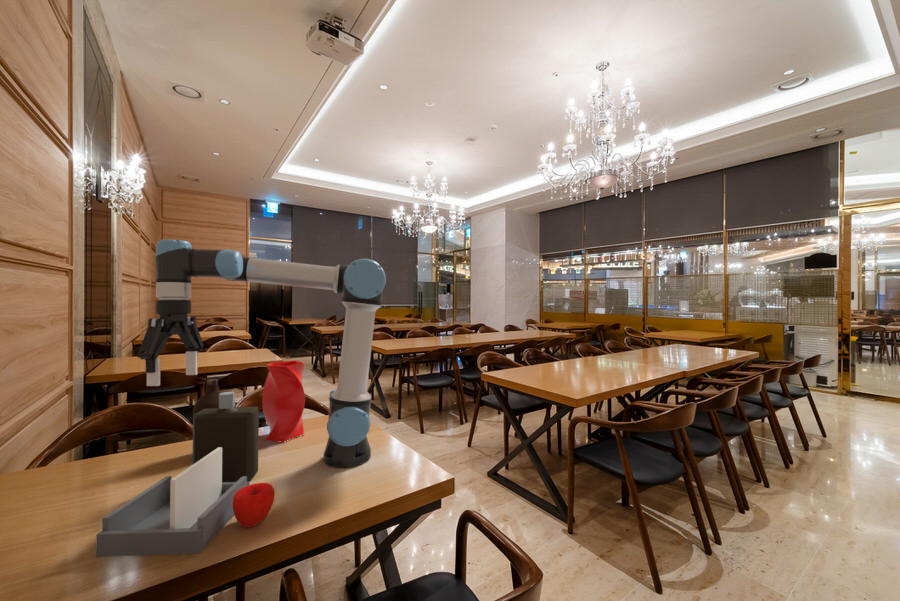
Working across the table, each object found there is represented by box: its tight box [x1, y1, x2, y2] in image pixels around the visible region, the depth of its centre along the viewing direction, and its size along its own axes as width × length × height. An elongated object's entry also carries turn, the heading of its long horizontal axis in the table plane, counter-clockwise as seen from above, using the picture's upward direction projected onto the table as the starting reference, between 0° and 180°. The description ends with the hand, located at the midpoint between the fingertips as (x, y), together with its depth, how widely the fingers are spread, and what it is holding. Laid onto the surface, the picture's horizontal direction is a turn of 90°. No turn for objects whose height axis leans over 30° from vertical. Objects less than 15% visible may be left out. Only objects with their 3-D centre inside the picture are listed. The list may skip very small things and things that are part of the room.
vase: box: [261, 360, 306, 443], centre depth 142 cm, size 15×14×28 cm
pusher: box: [170, 447, 222, 529], centre depth 85 cm, size 6×17×13 cm, turn 3°
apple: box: [233, 482, 276, 528], centre depth 86 cm, size 9×9×8 cm
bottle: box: [191, 391, 260, 483], centre depth 107 cm, size 8×16×25 cm, turn 100°
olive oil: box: [192, 378, 221, 417], centre depth 125 cm, size 11×11×25 cm
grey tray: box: [95, 475, 250, 557], centre depth 85 cm, size 20×21×7 cm
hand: (173, 380), depth 96 cm, fingers open, 13 cm apart
